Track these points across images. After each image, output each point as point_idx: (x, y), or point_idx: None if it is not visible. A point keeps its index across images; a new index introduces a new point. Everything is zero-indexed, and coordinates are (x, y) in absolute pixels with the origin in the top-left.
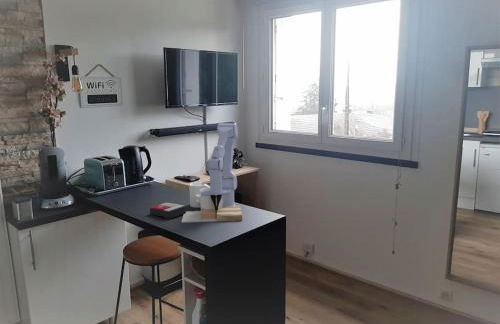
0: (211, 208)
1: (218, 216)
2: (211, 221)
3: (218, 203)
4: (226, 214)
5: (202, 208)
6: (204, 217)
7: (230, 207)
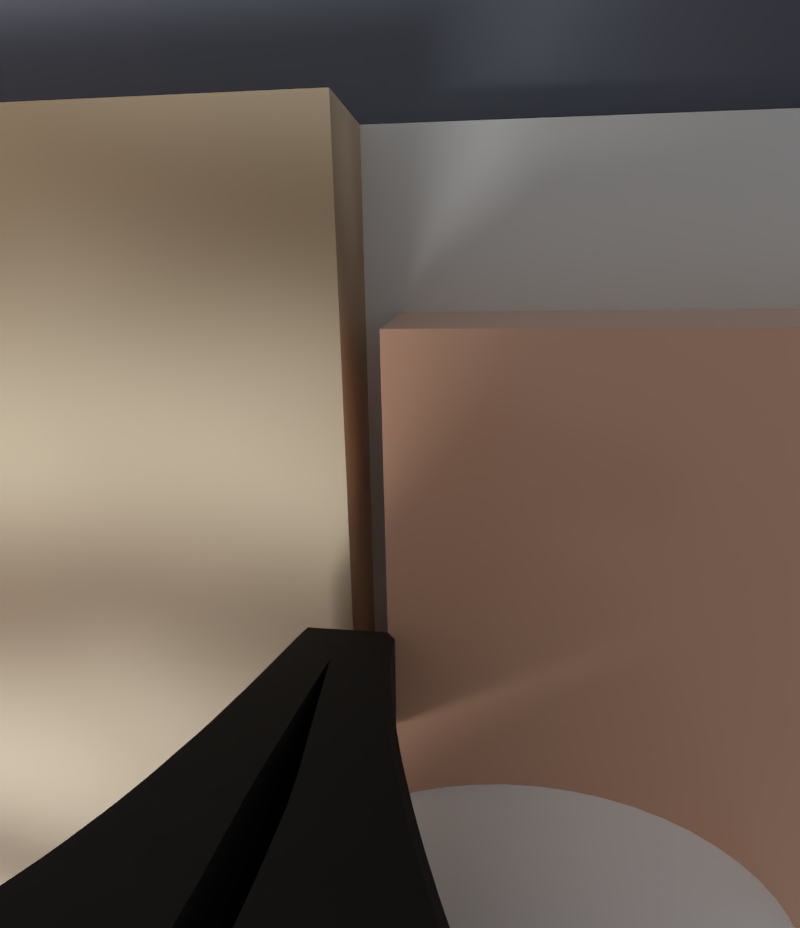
0: (513, 805)
1: (264, 90)
2: (528, 125)
3: (137, 811)
4: (10, 282)
5: (784, 899)
6: (764, 315)
7: (40, 852)
